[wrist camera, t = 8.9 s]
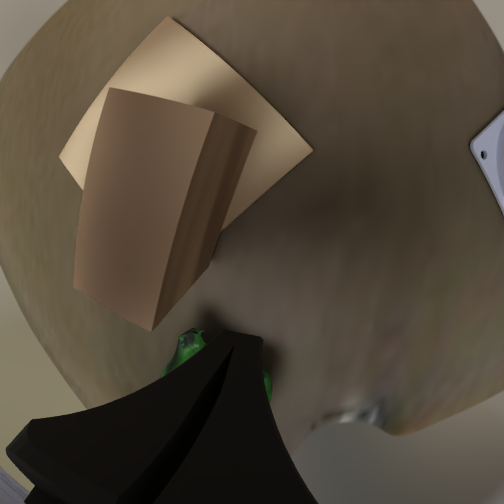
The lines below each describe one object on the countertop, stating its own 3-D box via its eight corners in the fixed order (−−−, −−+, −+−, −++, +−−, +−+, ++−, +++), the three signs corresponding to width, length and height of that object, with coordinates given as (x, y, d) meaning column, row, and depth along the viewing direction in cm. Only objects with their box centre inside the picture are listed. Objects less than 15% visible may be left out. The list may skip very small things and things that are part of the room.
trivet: (313, 150, 14) (313, 150, 14) (166, 282, 18) (162, 286, 18) (171, 18, 13) (167, 15, 12) (63, 156, 17) (59, 157, 17)
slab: (257, 131, 14) (214, 112, 8) (208, 266, 17) (151, 332, 10) (188, 109, 14) (109, 87, 8) (149, 239, 17) (73, 287, 11)
